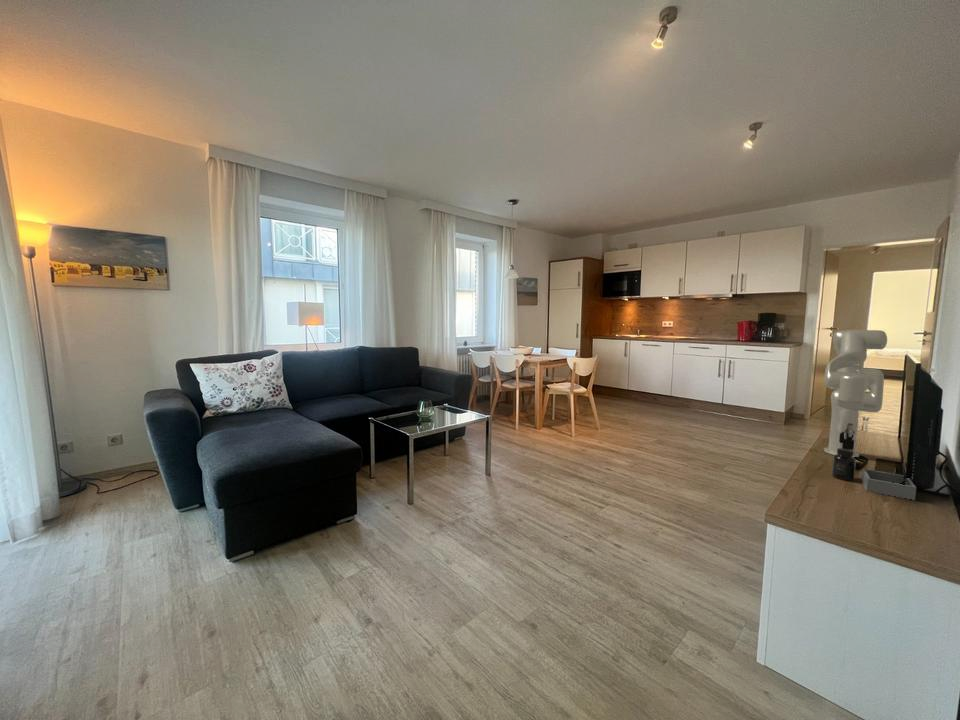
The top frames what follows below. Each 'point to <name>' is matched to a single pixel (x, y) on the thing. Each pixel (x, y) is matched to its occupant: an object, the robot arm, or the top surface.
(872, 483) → the bin
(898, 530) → the top surface
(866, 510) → the top surface
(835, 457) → the supplement bottle
